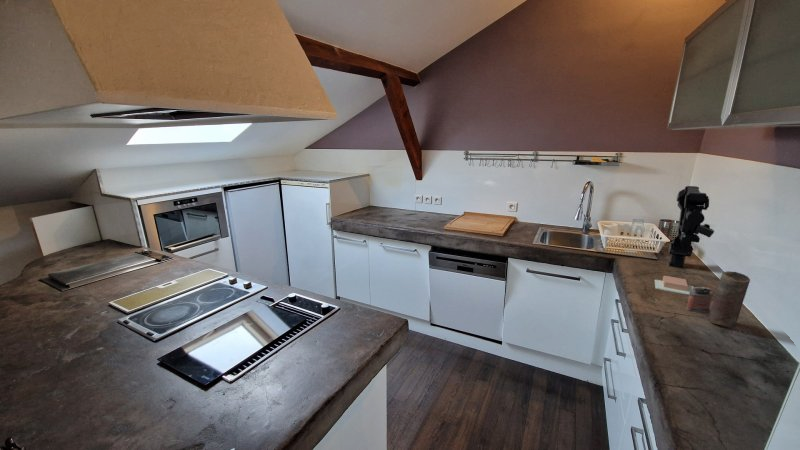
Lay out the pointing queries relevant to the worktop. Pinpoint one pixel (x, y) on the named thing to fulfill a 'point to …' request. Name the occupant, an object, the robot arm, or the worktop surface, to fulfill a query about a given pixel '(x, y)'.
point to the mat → (660, 286)
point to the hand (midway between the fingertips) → (684, 250)
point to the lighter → (699, 299)
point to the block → (675, 283)
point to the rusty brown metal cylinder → (729, 299)
